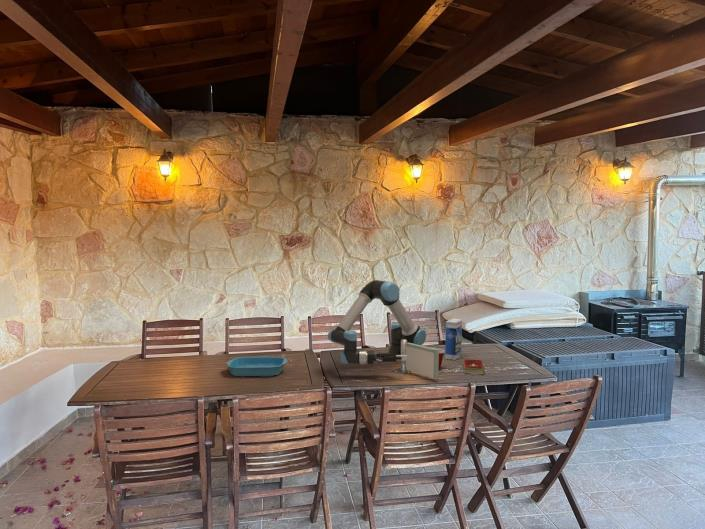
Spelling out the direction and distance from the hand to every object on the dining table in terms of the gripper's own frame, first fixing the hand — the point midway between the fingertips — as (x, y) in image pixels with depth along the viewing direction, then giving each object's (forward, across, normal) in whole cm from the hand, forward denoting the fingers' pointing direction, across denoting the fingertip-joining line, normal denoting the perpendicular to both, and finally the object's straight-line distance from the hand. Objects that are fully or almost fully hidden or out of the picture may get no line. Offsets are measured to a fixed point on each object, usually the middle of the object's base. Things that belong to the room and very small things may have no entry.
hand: (407, 357), depth 276 cm
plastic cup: (+20, -21, -13) cm, 32 cm away
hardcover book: (+43, -20, -14) cm, 49 cm away
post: (-1, -13, -12) cm, 18 cm away
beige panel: (+9, -3, -11) cm, 14 cm away
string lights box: (+34, -47, -14) cm, 60 cm away
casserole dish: (-91, -5, -12) cm, 92 cm away
